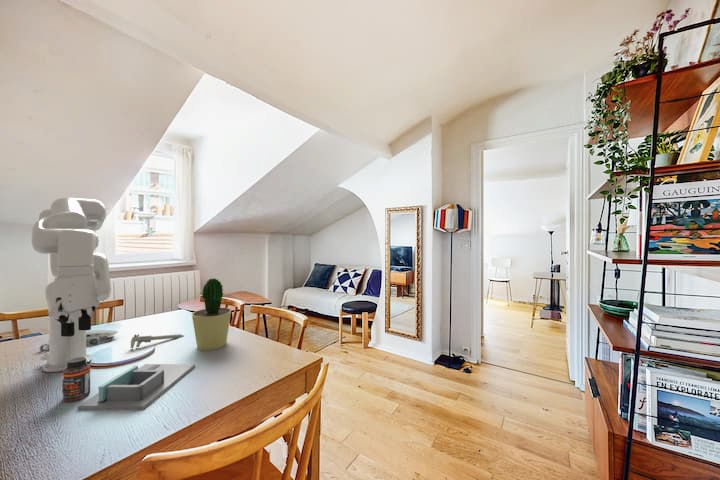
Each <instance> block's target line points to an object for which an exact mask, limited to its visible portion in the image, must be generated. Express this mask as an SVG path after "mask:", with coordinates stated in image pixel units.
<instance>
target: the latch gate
mask: <svg viewBox="0 0 720 480" xmlns="http://www.w3.org/2000/svg"><path fill="white" fill-rule="evenodd" d="M138 368H139V365H133V366H131V367H130V368H128V369H126V370H124V371H123V372H121V373H119V374H118V375H116V376H114V377H113V378H111V379H109V380H108V381H105V383H103V384H101V385H99V386H98V393H99V401H104V400H105V399H107V387H108V386H110V385H128V384H129V383H131V382H132V371H134V370H138Z"/></svg>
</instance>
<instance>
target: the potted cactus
mask: <svg viewBox="0 0 720 480" xmlns="http://www.w3.org/2000/svg"><path fill="white" fill-rule="evenodd" d="M204 283H205V284H204V285H203V287H202V290H201V292H200V294H199V296H200V297H201V299H203V300H201V302H203V305H204V308H202V309H199V310H195V311H193V312H192V313H191V317H192V324H193V330H194V336H195V343H196V347H197V349H198V350H200V351H213V350H217V349H220V348H223V347H225V346H226V345H227V341H228V334H229V329H230V328H229V327H230V321H231V315H232V308H229V307H221V306H223V302H222V300H223V297H225V296H226V293H225V292H224V288H223V287H224V286H223V284H222V281H220V280H219V279H217V278H215V277H213V278H209V279H207V280H206V281H204Z"/></svg>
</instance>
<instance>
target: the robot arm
mask: <svg viewBox="0 0 720 480" xmlns="http://www.w3.org/2000/svg"><path fill="white" fill-rule="evenodd" d="M106 216H107V209H106V206H105V205H104V203H103V202H102V201H100V200H97V199H90V198H78V197H77V198H76V197H61V198H57V199H56V200H54V201H53V202H52V203H51V205H50V208H48V209H47V208H46V209H44V210H42V211H41V212H40V213H39V215H38V220H37V221H35V223H34V225H33V227H32V230H31V245H32V248H33V249H34V251H35V252H37V253H40V254H42V255H43V254H45V255H47V254H49V259H50V260H49V261H50V272H51V274H52V276H53V277H55V278H54V280H53V281H51V282H50V283H48V284H47V285H46V287H45V290H44V291H45V292H44V293H45V294H44V295H45V299H46V304H47V310H48V321H49V323H48V327H49V328H48V329H49V330H48V332H49V337H48V338H49V340H48V343H49V351H48V352H45V353H44V355H42V356H41V357H40V361H46V363H45V364H44V365H43V367H42V370H43V372H46V373H58V372H63V370H64V369H65V368H67V367H68V366H67V362H68V361H69V360H70V359H73V358H77V357H86V363H87V361H88V360H89V359H91V357H92V358H93V356H92V355H91V354H87V346H86V332H87V331H92V330H91V329H92V317H93V316H94V312H95V310H96V309H97V308H98V307H99V306H100V304H101V302H103V301H106V300H108V299H109V298H110V296H111V294H112V284H111V283H112V281H111V275H110V269H109V268H110V267H109V260H108V258H107V256H106V255H105V254H104V253H102V252H95V251H94V250H95V249H96V248H98V247H99V242H100V241H99V236H98V234H97V233H96V231H99V230H100V229H102V227H103V224H104V222H105V219H106Z"/></svg>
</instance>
